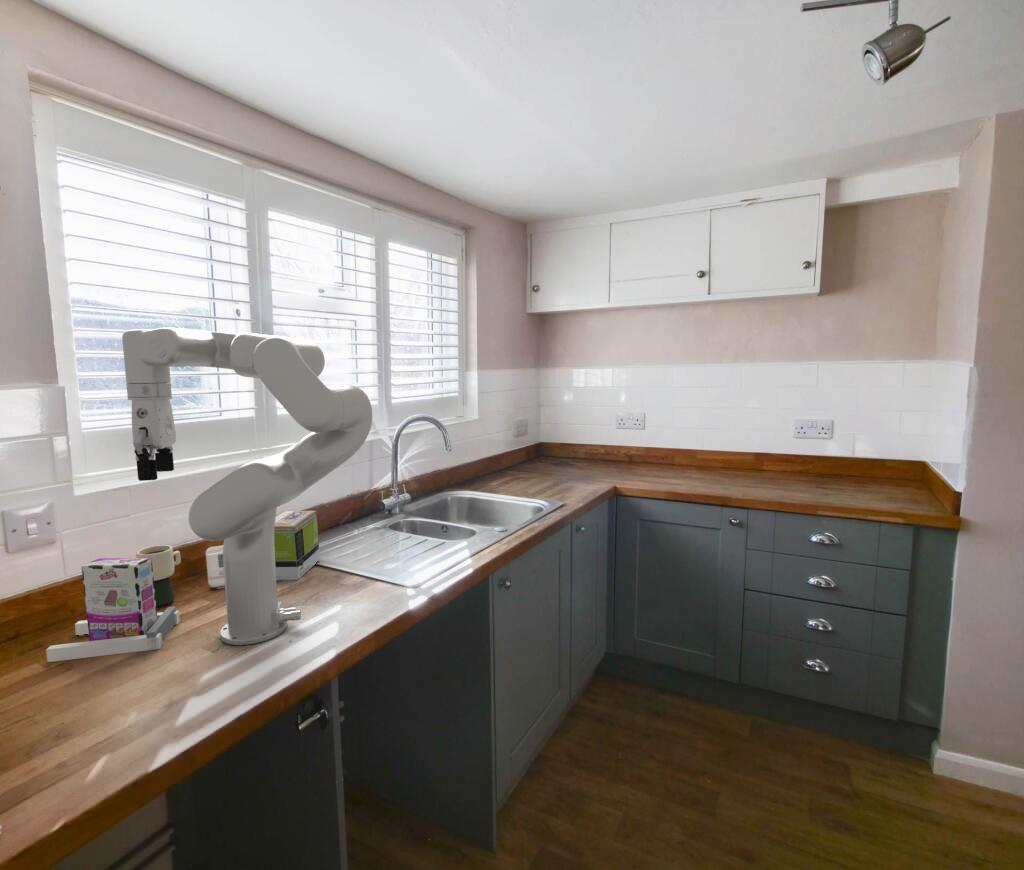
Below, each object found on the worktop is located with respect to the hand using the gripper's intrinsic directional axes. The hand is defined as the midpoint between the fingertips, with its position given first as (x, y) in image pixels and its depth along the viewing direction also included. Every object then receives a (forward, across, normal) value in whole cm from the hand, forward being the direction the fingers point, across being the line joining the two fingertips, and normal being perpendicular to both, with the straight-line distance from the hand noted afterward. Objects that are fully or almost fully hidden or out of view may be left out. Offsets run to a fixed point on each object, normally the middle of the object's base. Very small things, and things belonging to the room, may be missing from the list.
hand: (157, 475), depth 114 cm
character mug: (+32, +12, +6) cm, 35 cm away
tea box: (+33, +27, -21) cm, 47 cm away
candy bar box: (+32, -5, +7) cm, 34 cm away
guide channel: (+32, -5, +8) cm, 34 cm away
